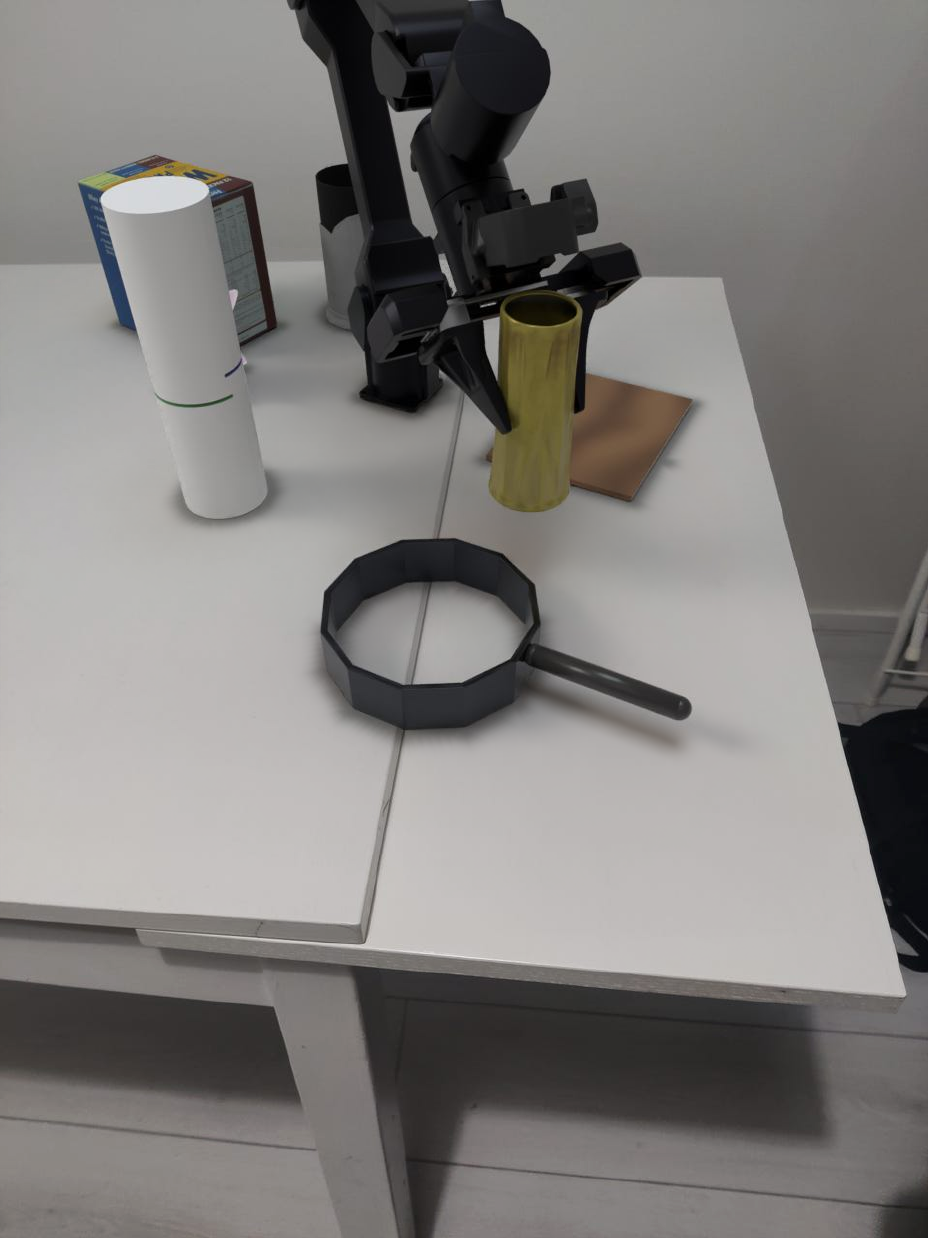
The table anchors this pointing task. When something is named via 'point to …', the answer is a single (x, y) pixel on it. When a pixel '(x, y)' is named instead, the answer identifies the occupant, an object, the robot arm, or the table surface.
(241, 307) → the protein box
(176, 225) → the cylindrical container
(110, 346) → the table surface
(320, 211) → the glass holder
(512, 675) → the pan
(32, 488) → the table surface
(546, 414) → the vase
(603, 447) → the wooden board
